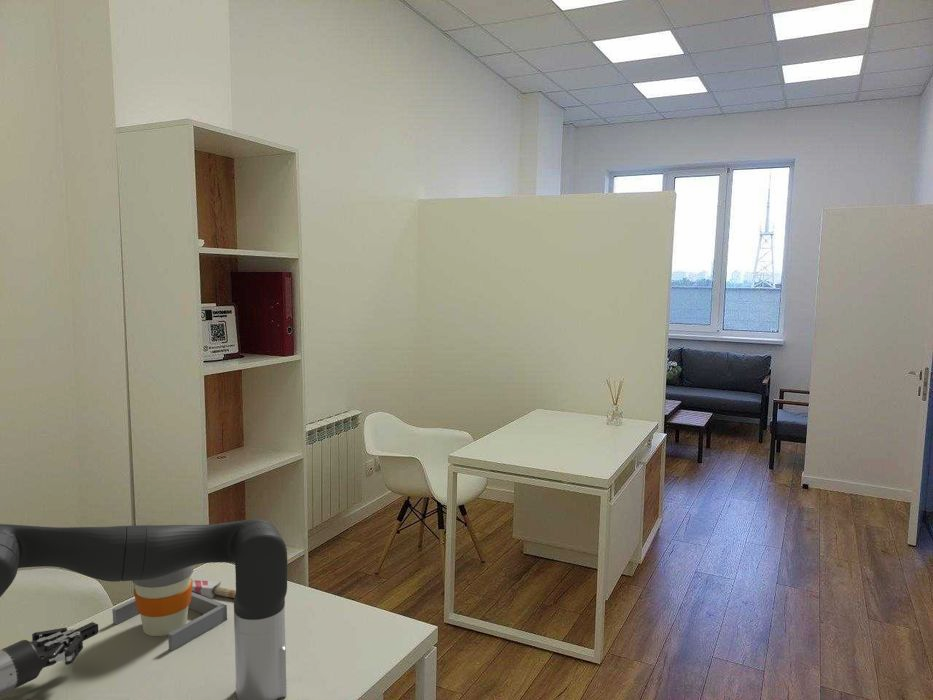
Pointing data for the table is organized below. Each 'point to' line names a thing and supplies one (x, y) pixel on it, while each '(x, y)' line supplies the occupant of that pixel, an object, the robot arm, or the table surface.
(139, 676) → the table surface
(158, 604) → the reusable coffee cup
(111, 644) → the table surface
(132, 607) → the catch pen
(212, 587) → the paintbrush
